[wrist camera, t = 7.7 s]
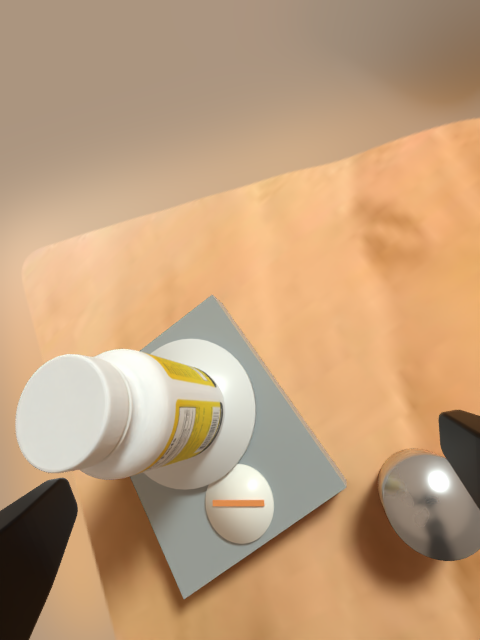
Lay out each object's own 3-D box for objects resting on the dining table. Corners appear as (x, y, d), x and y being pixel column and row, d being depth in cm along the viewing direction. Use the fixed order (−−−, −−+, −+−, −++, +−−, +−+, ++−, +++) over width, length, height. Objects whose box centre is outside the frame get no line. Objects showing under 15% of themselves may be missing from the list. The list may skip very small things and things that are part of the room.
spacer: (487, 508, 17) (515, 527, 14) (416, 553, 17) (430, 580, 15) (424, 432, 19) (438, 436, 16) (360, 476, 19) (363, 487, 16)
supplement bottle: (140, 383, 22) (-4, 361, 13) (214, 355, 21) (115, 310, 12) (156, 469, 20) (0, 515, 11) (238, 443, 19) (142, 470, 10)
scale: (346, 479, 19) (346, 489, 17) (198, 582, 20) (179, 605, 18) (222, 303, 24) (209, 291, 22) (109, 390, 25) (85, 388, 23)
